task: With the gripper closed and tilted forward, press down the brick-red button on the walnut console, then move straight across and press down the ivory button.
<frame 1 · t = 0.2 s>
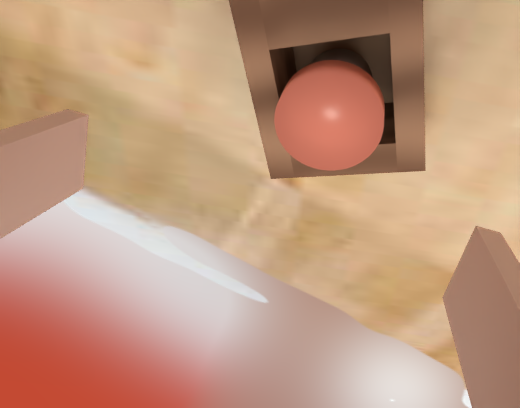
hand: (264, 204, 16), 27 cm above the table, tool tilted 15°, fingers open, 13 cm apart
red button: (333, 101, 33), point 9 cm above the table, slide at 0.0 cm
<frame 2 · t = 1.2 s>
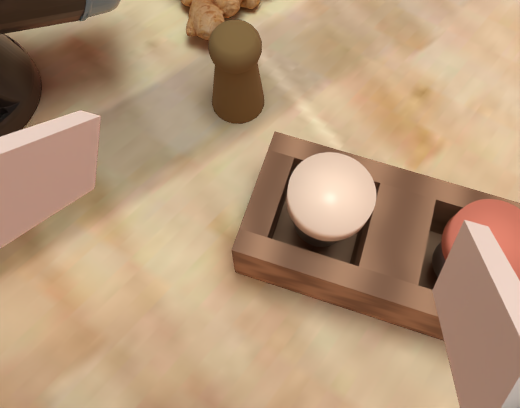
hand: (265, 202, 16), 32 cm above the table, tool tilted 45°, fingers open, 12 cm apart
ivory button: (325, 207, 41), point 9 cm above the table, slide at 0.0 cm
console: (376, 256, 48), on the table
red button: (477, 253, 39), point 8 cm above the table, slide at 0.0 cm
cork: (238, 101, 55), on the table
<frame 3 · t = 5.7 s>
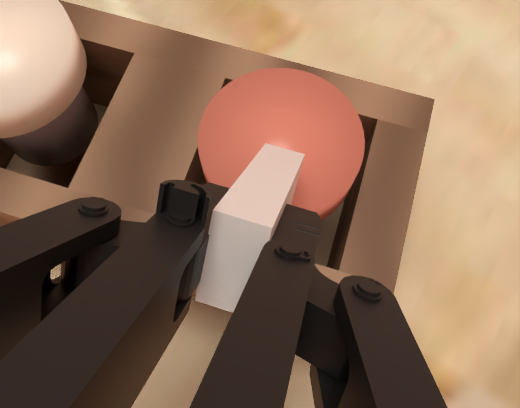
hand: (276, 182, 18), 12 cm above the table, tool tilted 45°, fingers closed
ivory button: (24, 89, 23), point 9 cm above the table, slide at 0.0 cm
console: (175, 191, 31), on the table
red button: (277, 171, 23), point 7 cm above the table, slide at 1.1 cm
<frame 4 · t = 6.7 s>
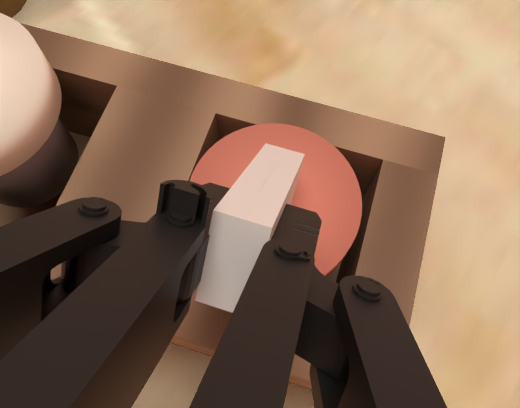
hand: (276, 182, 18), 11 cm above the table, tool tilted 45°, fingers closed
console: (164, 229, 28), on the table
red button: (271, 227, 22), point 6 cm above the table, slide at 2.4 cm, touching gripper
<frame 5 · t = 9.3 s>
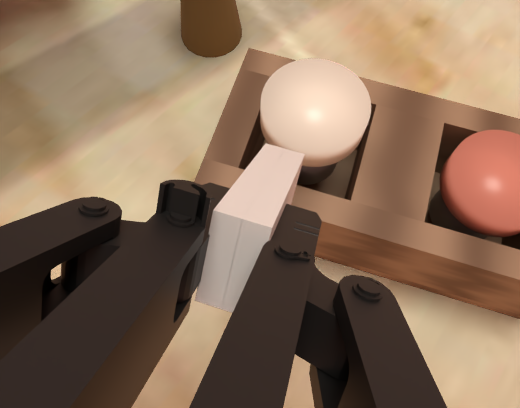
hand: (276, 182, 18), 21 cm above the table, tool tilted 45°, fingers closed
ivory button: (309, 131, 33), point 9 cm above the table, slide at 0.0 cm
console: (372, 203, 40), on the table
red button: (480, 197, 34), point 6 cm above the table, slide at 2.4 cm
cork: (211, 34, 47), on the table
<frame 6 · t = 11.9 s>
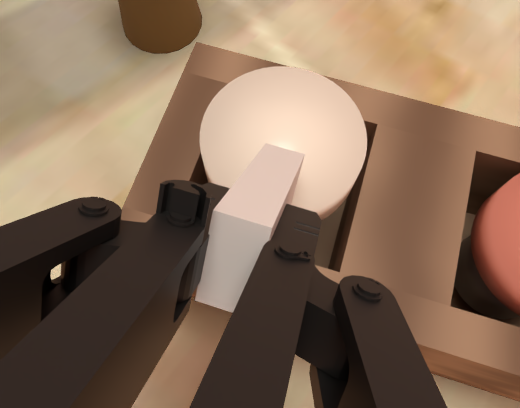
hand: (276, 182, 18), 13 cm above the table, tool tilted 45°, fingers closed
ivory button: (279, 171, 23), point 8 cm above the table, slide at 0.5 cm, touching gripper
console: (372, 252, 30), on the table
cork: (163, 23, 36), on the table
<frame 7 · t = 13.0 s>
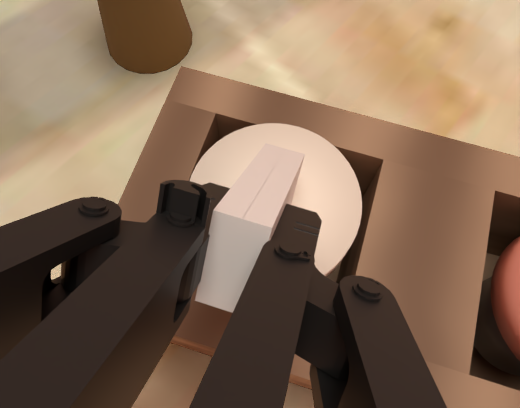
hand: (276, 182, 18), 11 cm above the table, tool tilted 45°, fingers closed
ivory button: (271, 227, 22), point 6 cm above the table, slide at 2.4 cm, touching gripper
console: (376, 294, 27), on the table
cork: (150, 40, 34), on the table
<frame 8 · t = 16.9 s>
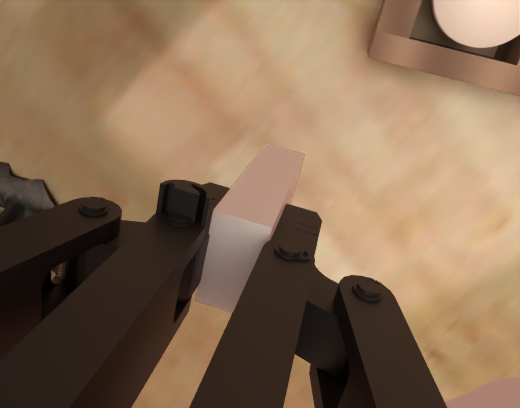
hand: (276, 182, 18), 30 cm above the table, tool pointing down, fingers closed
vase: (21, 262, 62), on the table
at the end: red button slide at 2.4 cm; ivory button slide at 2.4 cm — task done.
